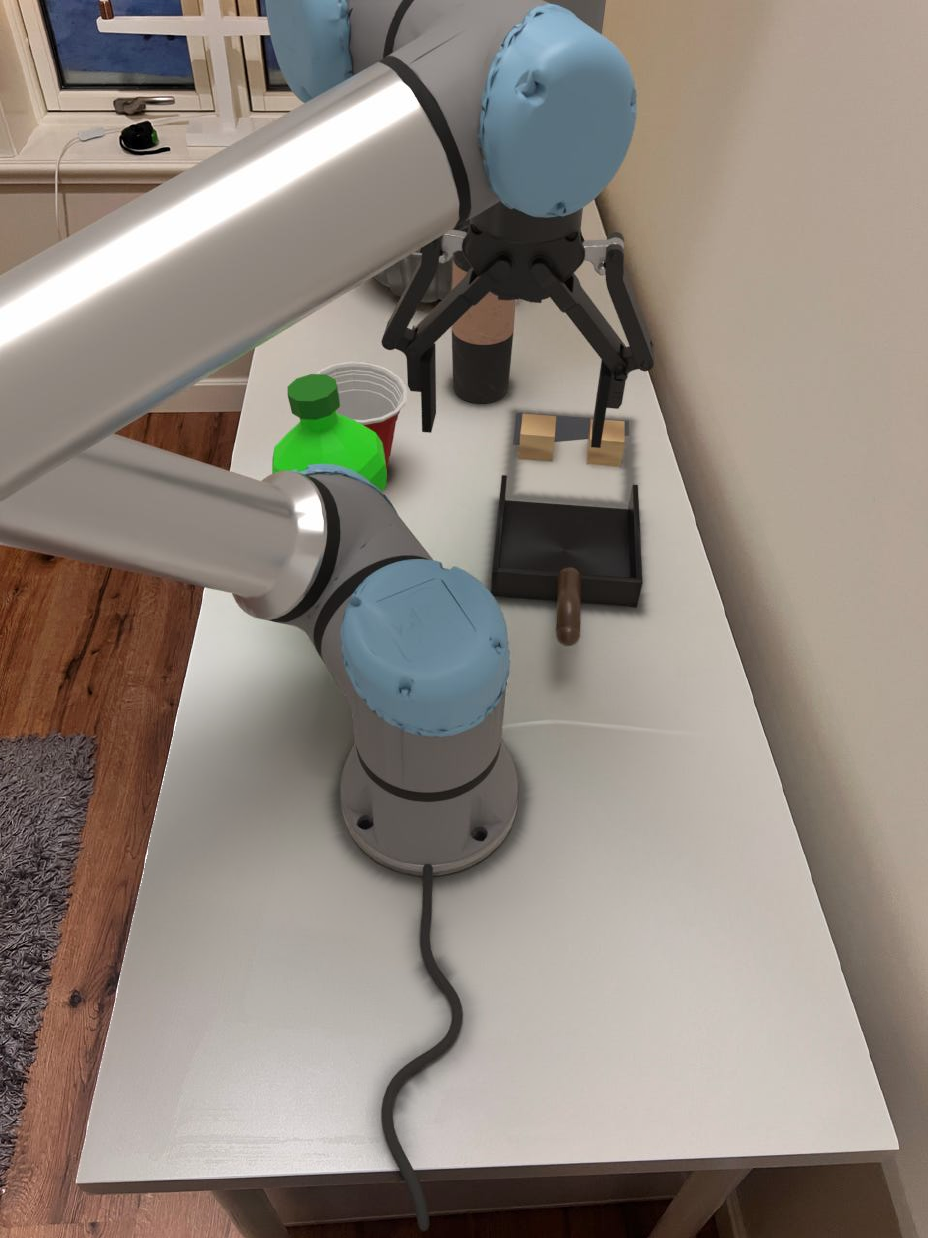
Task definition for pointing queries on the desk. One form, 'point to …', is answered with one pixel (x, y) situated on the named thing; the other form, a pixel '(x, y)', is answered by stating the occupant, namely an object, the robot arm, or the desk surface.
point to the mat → (565, 428)
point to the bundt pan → (405, 268)
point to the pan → (567, 556)
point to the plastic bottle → (327, 434)
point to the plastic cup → (369, 397)
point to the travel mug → (481, 343)
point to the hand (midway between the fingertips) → (512, 430)
